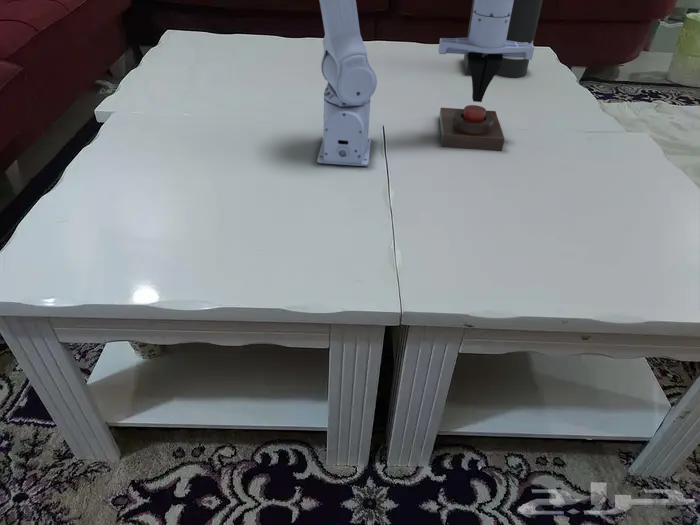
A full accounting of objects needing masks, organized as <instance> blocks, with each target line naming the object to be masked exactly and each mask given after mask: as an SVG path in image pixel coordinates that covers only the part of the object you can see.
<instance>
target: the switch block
mask: <svg viewBox="0 0 700 525" xmlns="http://www.w3.org/2000/svg"><path fill="white" fill-rule="evenodd" d="M463 113H464V108H454V107H440V109H439V116H438V122H439V131H440V137H441V138H440V139H441V146H442V148H456V149H457V148H458V149H470V150H471V149H473V150H474V149H475V150H486V151H487V150H488V151H503V147H504V144H505V135H504V133H503V129H502V127H501V123H500V121H499V118H498V115H497V111H496V110H486V113H485V118H484V121H482V122H471V121H468V120H465V119H463Z"/></svg>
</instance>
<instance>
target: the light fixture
mask: <svg viewBox="0 0 700 525" xmlns="http://www.w3.org/2000/svg"><path fill="white" fill-rule="evenodd" d="M543 1H544V0H514V2H513V7H512V12H511V17H510V23H509V28H508V33H507V38H506V40H508V41H514V42H521V43H530V44H533V45H534V40H535V37H536V33H537V28H538V23H539V18H540V14H541V10H542V5H543ZM474 2H475V0H472V3H471V10H470V17H469V23H468V29H467V35H466V38H469V34H470V27H471V21H472V15H473V8H474ZM462 61H463V68H464V72H465V73H464V74H465V76H469V77H471V71H470V66H469V62H468V59H467V55H466V54H463V60H462ZM502 61H503V63H502V66H501V68H500V69H499V70H498V72H497V73H496V74H495V75H497V76H500V77H505V78H522V77H524V76H526V75H527V72H528V67H529V64H530V59H525V58H518V57H502Z"/></svg>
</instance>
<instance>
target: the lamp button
mask: <svg viewBox="0 0 700 525" xmlns="http://www.w3.org/2000/svg"><path fill="white" fill-rule="evenodd" d="M463 109H464V113H463V119H465V120H468V121H471V122H482V121H484V118H485V113H486V111H487V109H486V108H485V107H483V106H481V105H475V104H469V105H466V106H464V108H463Z"/></svg>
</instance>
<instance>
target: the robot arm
mask: <svg viewBox="0 0 700 525" xmlns="http://www.w3.org/2000/svg"><path fill="white" fill-rule="evenodd" d="M513 2H514V0H475V2H474V8H473V15H472V21H471V27H470V34H469V38H467V37H456V38H455V37H454V38H451V37H450V38H449V37H440V38H439V44H438V54H439V55H446V54H452V55H464V54H466V55H467V59H468V62H469V66H470V71H471V76H470V77H471V86H472V87H471V88H472V93H471V94H472V95H471V97H472V98H471V99H472V102H475V103H482V102H483V99H484V96H485V94H486V91H487V89H488V87H489V85H490V83H491V82H492V80H493V79H494V77H495V76H496V75H497V74H496V73H497V72H498V70H499V69H500V68H501V66H502V63H503V61H502V57H518V58H525V59H529V61H530V60H533V55H534V51H535V46H534V43H533V44H530V43H521V42H514V41H508V40H506V38H507V33H508V28H509V23H510V17H511V12H512V7H513ZM319 7H320V12H321V18H322V23H323V30H324V35H323V36H324V37H323V40H322V47H323V54H322V59H321V63H320V70H321V73H322V77H323V78H324V80H326V81H327V84H326V86H325V88H324V91H323V137H322V142H321V144H320V148H319V152H318V156H317V161H316V162H317V163H318V164H327V165H340V166H353V167H355V166H356V167H368V166H369V160H370V153H371V145H372V139H371V138H369V132H370V131H369V130H370V129H369V128H370V113H371V98H372V97H373V95H374V94H375V92H376V90H377V86H378V77H377V74H376V72H375V70H374V68H372V66H371V64H370V62H369V58H368V50H367V49H366V46H365V43H364V41H363V38H362V35H361V29H360V21H359V13H358V7H357V0H319Z"/></svg>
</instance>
